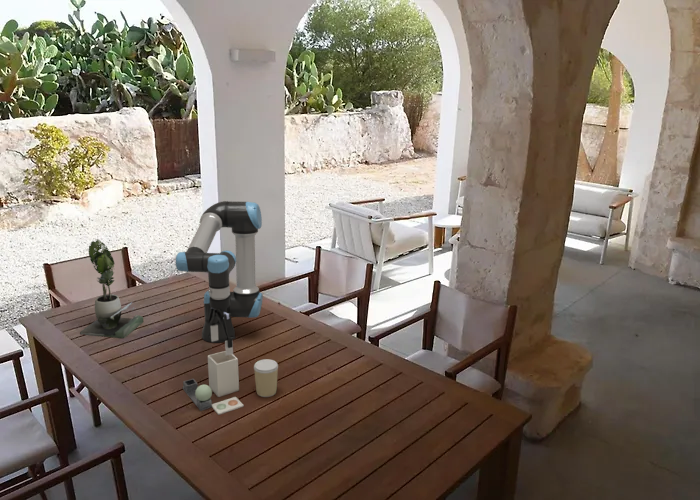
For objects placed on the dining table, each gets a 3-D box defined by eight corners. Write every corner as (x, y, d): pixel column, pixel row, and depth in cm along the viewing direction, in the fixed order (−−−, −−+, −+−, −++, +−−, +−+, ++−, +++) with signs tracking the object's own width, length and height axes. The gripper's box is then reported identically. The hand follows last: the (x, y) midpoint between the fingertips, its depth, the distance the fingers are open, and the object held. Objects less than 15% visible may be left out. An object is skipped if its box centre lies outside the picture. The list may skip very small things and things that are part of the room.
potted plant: (143, 321, 283) (135, 234, 270) (123, 338, 265) (114, 246, 252) (102, 318, 286) (92, 231, 273) (80, 334, 268) (68, 242, 255)
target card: (235, 397, 220) (235, 396, 220) (243, 406, 215) (243, 404, 215) (211, 406, 215) (210, 404, 215) (218, 414, 209) (218, 413, 209)
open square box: (229, 380, 232) (228, 349, 228) (238, 390, 226) (237, 358, 221) (209, 387, 227) (207, 355, 223) (218, 397, 221) (216, 364, 216)
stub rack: (194, 384, 229) (193, 377, 228) (213, 406, 214) (212, 399, 213) (182, 388, 226) (181, 381, 225) (200, 411, 212) (200, 403, 211)
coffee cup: (282, 388, 228) (282, 361, 224) (271, 400, 220) (271, 372, 216) (261, 383, 231) (260, 357, 227) (250, 395, 222) (249, 367, 219)
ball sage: (208, 393, 218) (207, 379, 216) (214, 401, 213) (214, 386, 212) (193, 398, 215) (192, 384, 213) (199, 406, 210) (198, 391, 208)
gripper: (197, 287, 222) (200, 337, 228) (224, 309, 203) (226, 363, 209) (215, 284, 226) (217, 333, 232) (243, 305, 207) (245, 357, 213)
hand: (221, 347), depth 221 cm, fingers open, 13 cm apart
